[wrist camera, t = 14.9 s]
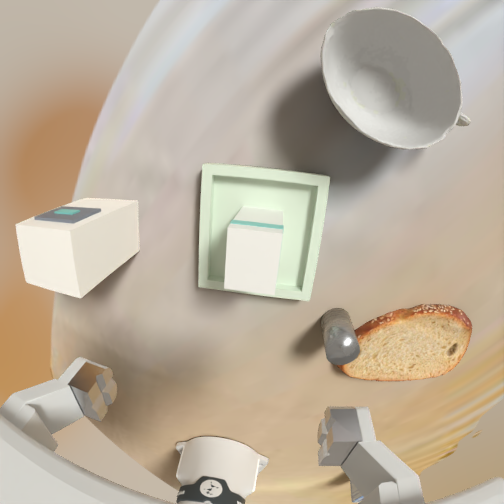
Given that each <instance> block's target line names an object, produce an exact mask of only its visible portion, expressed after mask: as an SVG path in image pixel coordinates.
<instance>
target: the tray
mask: <svg viewBox="0 0 504 504" xmlns="http://www.w3.org/2000/svg"><path fill="white" fill-rule="evenodd" d="M329 183H330V177H329V176H328V175H322V174H315V173H308V172H301V171H293V170H284V169H275V168H266V167H255V166H244V165H232V164H217V163H205V164H203V165H202V182H201V202H200V229H199V282H198V287H201V288H208V289H215V290H222V291H230V292H237V293H245V294H253V295H260V296H269V297H277V298H286V299H295V300H304V301H310V297H311V292H312V287H313V282H314V276H315V271H316V266H317V260H318V255H319V249H320V243H321V237H322V231H323V225H324V218H325V212H326V205H327V198H328V191H329ZM243 206H245V207H255V208H264V209H272V210H281V211H283V225H284V230H283V238H282V246H281V253H280V261H279V268H278V275H277V283H276V289H275V295H269V294H261V293H253V292H246V291H238V290H231V289H224V281H225V262H226V246H227V230H228V226H229V225H230V222H231V221H232V220H233V219H234V218H235V216H236V215H237V214H238V212H239V211H240V209H241V208H242V207H243Z"/></svg>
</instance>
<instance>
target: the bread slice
mask: <svg viewBox="0 0 504 504" xmlns="http://www.w3.org/2000/svg"><path fill="white" fill-rule="evenodd" d="M471 333H472V324H471V321H470V320H469V318H468V317H467V316H466V314H465V313H464V312H463V311H462V310H460V309H458V308H455V307H452V306H450V305H442V304H428V305H426V304H421V305H418V306H415V307H413V308H409V309H399V310H396V311H393V312H389V313H387V314H384V315H382V316H380V317H377V318H375V319H373V320H371V321H369V322H367V323H365V324H364V325H362V326H361V327H359V328H358V329H356V330H355V334H356V337H357V340H358V343H359V346H360V353H359V355H358V357H357V358H356V359H355V360H354V361H352V362H350V363H348V364H345V365H337V367H339V368H340V369H341V370H342V371H343V372H344V373H345V374H347V375H348V376H350V377H354V378H359V379H364V380H376V381H405V380H419V379H426V378H431V377H437V376H440V375H445V374H446V373H447V372H449V371H451V370H452V369H453V368H454V367H455V366H456V365H457V364H458V363H459V361H460V360H461V358H462V357H463V355H464V354H465V352H466V350H467V347H468V344H469V341H470V337H471Z"/></svg>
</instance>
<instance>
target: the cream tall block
mask: <svg viewBox="0 0 504 504" xmlns="http://www.w3.org/2000/svg"><path fill="white" fill-rule="evenodd" d="M16 231H17V238H18V244H19V250H20V255H21V260H22V266H23V270H24V275H25V279H26V282H27V283H30V284H33V285H36V286H39V287H43V288H46V289H49V290H53V291H56V292H59V293H63V294H66V295H70V296H73V297H77V298H82V297H83V296H84V295H86V294H87V293H88V292H89V291H90V290H92V289H93V288H94V287H95V286H96V285H98V284H99V283H100V282H101V281H102V280H104V279H105V278H106V277H107V276H108V275H110V274H111V273H112V272H113V271H115V270H116V269H117V268H118V267H120V266H121V265H122V264H123V263H125V262H126V261H127V260H128V259H130V258H131V257H132V256H133V255H135V254H136V253H137V252H139V251H140V246H139V221H138V201H135V200H118V199H97V198H84V199H81V200H78V201H75V202H72V203H69V204H67V205H64V206H61V207H58V208H55V209H53V210H50V211H48V212H45V213H43V214H40V215H37V216H35V217H32V218H30V219H27V220H25V221H22V222H20V223H18V224H16Z"/></svg>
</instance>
